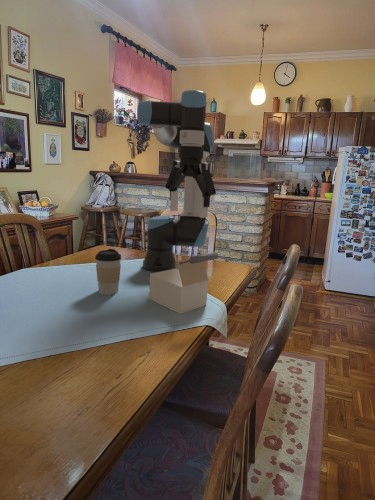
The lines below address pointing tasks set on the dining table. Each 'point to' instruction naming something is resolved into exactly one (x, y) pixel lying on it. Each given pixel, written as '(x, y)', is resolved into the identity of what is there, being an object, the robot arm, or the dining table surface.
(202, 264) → the drawer with bar handle
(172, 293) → the carton
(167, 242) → the robot arm
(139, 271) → the dining table surface
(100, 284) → the coffee cup
